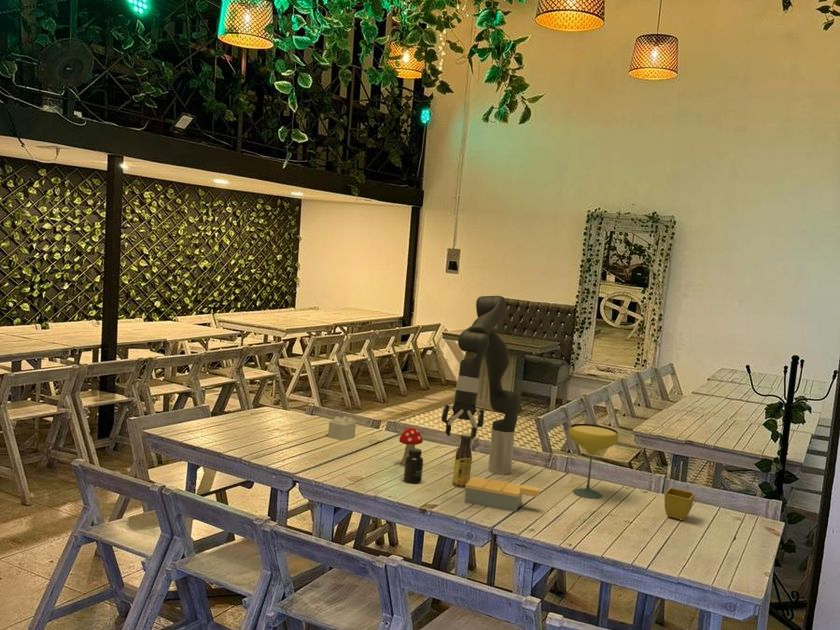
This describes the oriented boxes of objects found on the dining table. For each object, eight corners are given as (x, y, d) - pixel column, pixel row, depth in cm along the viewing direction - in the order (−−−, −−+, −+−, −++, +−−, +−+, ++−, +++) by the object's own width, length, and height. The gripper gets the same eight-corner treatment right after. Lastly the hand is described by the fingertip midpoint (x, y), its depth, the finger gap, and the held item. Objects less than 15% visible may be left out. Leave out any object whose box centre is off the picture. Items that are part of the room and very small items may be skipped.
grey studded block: (324, 436, 328) (326, 417, 327) (341, 431, 339) (343, 413, 339) (343, 441, 323) (345, 422, 322) (360, 436, 334) (361, 417, 334)
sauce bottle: (457, 490, 268) (462, 437, 266) (448, 485, 273) (453, 433, 272) (472, 489, 271) (477, 436, 269) (463, 483, 276) (468, 432, 275)
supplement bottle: (419, 484, 270) (422, 453, 269) (401, 482, 272) (404, 450, 271) (423, 479, 277) (425, 448, 276) (405, 477, 278) (408, 446, 277)
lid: (472, 479, 262) (472, 473, 262) (540, 491, 255) (541, 485, 255) (465, 487, 252) (465, 481, 252) (536, 500, 245) (536, 494, 245)
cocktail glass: (559, 495, 272) (565, 429, 270) (567, 483, 289) (574, 421, 287) (608, 505, 265) (615, 438, 263) (614, 492, 282) (621, 428, 280)
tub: (471, 496, 262) (472, 479, 262) (520, 505, 257) (522, 488, 257) (464, 504, 253) (466, 487, 252) (515, 513, 248) (517, 496, 247)
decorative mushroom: (413, 460, 302) (416, 424, 301) (424, 466, 295) (428, 429, 294) (392, 462, 296) (396, 426, 295) (404, 468, 289) (407, 431, 288)
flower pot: (687, 524, 252) (690, 499, 251) (661, 517, 257) (664, 493, 256) (692, 517, 259) (695, 493, 259) (667, 511, 264) (670, 487, 263)
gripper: (483, 391, 255) (476, 438, 254) (444, 386, 252) (437, 433, 251) (489, 393, 247) (483, 441, 246) (449, 388, 244) (442, 436, 244)
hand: (460, 437), depth 249 cm, fingers open, 8 cm apart
